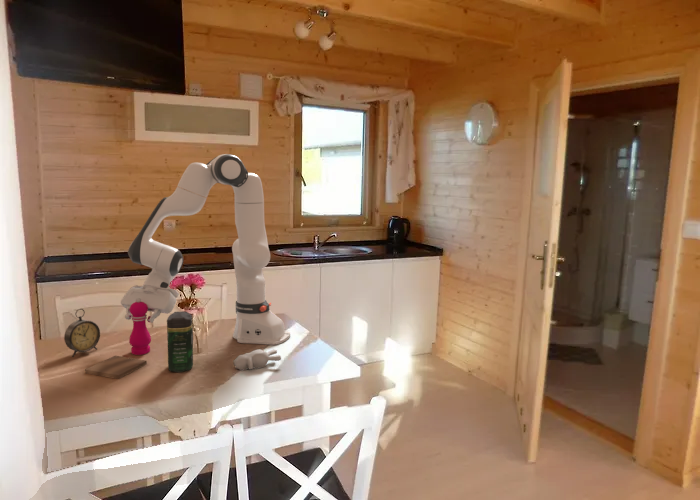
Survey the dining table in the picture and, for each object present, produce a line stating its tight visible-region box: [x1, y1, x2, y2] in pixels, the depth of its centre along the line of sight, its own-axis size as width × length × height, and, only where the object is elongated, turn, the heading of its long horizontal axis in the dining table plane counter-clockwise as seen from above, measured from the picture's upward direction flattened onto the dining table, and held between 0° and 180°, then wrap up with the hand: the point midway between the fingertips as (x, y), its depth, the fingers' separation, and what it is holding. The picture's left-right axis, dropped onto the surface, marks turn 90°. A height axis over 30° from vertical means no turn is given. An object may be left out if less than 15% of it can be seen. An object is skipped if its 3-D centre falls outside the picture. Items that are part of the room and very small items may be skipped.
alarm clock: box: [63, 308, 101, 358], centre depth 178 cm, size 11×5×16 cm, turn 148°
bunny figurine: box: [233, 349, 282, 371], centre depth 171 cm, size 10×5×15 cm
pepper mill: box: [128, 298, 152, 356], centre depth 180 cm, size 7×7×20 cm
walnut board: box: [84, 355, 148, 380], centre depth 167 cm, size 13×13×1 cm
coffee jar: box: [166, 311, 194, 373], centre depth 167 cm, size 10×8×19 cm
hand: (138, 320), depth 180 cm, fingers open, 8 cm apart
